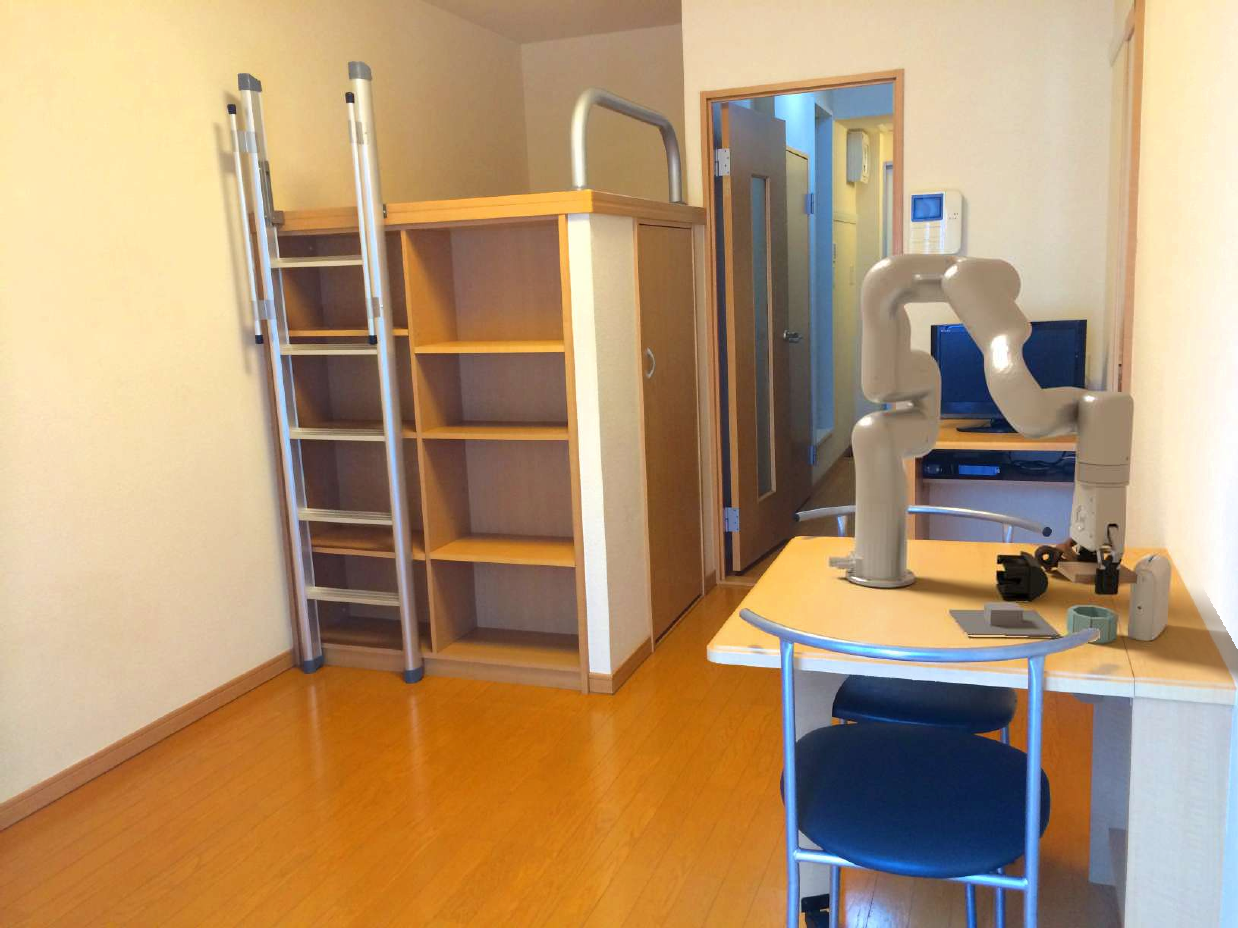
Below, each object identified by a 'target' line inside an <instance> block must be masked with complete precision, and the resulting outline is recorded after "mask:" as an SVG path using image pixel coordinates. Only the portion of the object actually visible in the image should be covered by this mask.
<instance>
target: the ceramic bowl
mask: <svg viewBox="0 0 1238 928" xmlns="http://www.w3.org/2000/svg"><path fill="white" fill-rule="evenodd" d="M1118 619H1119V614H1118V613H1117V612H1115V611H1114V610H1113V609H1111V608H1107V607H1102V606H1098V605H1093V604H1092V605H1091V604H1089V605H1085V604H1084V605H1082V604H1079V605H1078V604H1077V605H1073V606H1071V607H1069V608H1067V617H1066V631H1067V635H1069V634H1072V633H1075V632H1079V631H1081V630H1083V629H1088V628H1096V629H1099V631H1100V638H1098V639H1097V640H1096V641H1093V642H1091V643H1090V644H1093V645H1095V644H1096V645H1105V644H1111V643H1113V642H1115V640H1116V639H1115V638H1116V637H1117V634H1118V633H1117V632H1118V622H1119V621H1118Z"/></svg>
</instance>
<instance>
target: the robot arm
mask: <svg viewBox="0 0 1238 928" xmlns="http://www.w3.org/2000/svg"><path fill="white" fill-rule="evenodd" d="M1021 284H1022V283H1021V278H1020V275H1019V273H1018V271H1017V270H1016V268H1015V267H1014V266H1013V265H1012V264H1010V263H1009V262H1008V261H1006V260H1004V259H999V258H982V257H974V256H963V255H953V254H944V253H943V254H942V253H901V254H893V255H889V256H886V257H885V258H882V259H881V260H879V261H878V262H876V263H875V264H874V265H872V267H871V268H870V269H869V271H868V272H867V274H866V275H865V277H864V279H863V281H862V284H861V290H860V307H861V308H860V309H861V318H862V336H861V337H862V338H861V369H860V370H861V372H860V374H861V376H860V377H861V378H860V379H861V382H860V383H861V389H862V393H863V395H864V396H865V398H866V399H867V400H868V401H870V402H872V403H875V404H882V405H883V404H885V405H886V404H895V409H889V410H888V409H887V410H879V411H874V412H871V413H869V414H866V415H864V416H862V417H861V418H860V419H859V420H858V421H857V422H856V423H855V425H854V427H853V429H852V433H851V446H852V447H851V448H852V454H853V459H854V469H855V519H854V522H855V523H854V529H855V530H854V550H853V551H850V555H849V554H848V555H845V557H843V556H842V557H840V556H829V557H828V566H829V568H836V569H837V570H845V578H846V579H847V581H850V582H852V583H853V584H857V585H861V586H864V587H865V586H866V587H872V588H884V589H885V588H888V589H889V588H901V587H906V586H909V585H911V584H913V583H914V582H915V579H916V578H915V577H916V575H915V573H914V572H913V571H912V570H911V569H908V567H907V563H908V534H909V531H908V530H909V508H910V507H909V506H910V505H909V502H910V501H909V500H910V498H909V497H910V496H909V495H910V489H909V488H910V487H909V479H908V477H907V473H906V470H905V468H904V464H903V461H906V460H911V459H916V458H920V457H924V456H926V455H928V454H929V453H930V452H931V451H932V450H934V448H935V447H936V445H937V442H938V439H939V436H940V426H941V425H940V424H941V402H942V401H941V400H942V376H941V371H940V368H939V367H940V366H939V365H938V363H937V360H936V359H935V358H934V356H932V355H931V354H930V353H928V351H925V350H921V349H917V348H911V346H912V343H911V342H912V341H911V339H912V325H911V320H910V318H909V315H908V312H907V310H906V308H905V305H907V304H913V303H915V304H916V303H917V304H918V303H920V304H922V303H923V304H924V303H945V304H948V305H949V307H950V308H951V309H952V310H953V312H954V314H955V316H956V317H957V318H958V319H959V321H960V322H961V324H962V325H963V327H964V328H965V329H966V331H967V332H968V334H969V335H970V337H971V338H972V340H973V341H974V343H975V344H976V346H977V347H978V349H979V350H980V351H981V353H982V355H983V359H984V360H983V361H984V362H983V367H984V368H983V369H984V375H985V382H986V385H987V388H988V391H989V394H990V396H991V398H992V400H993V402H994V403H995V405H996V406H997V408H998V410H999V411H1000V412H1001V413H1002V415H1003V416H1004V418H1005V420H1006V421H1007V422H1008V423H1009V425H1010V427H1011V426H1012V428H1013V429H1015V431H1016V432H1018V433H1019V434H1020V435H1022V436H1023V437H1025V438H1028V439H1030V440H1041V439H1049V438H1053V437H1061V436H1067V435H1074V434H1076V442H1075V443H1076V445H1075V448H1076V449H1075V465H1074V468H1075V469H1074V482H1075V486H1074V491H1073V497H1072V506H1071V517H1070V524H1069V525H1070V526H1069V536H1070V538H1072V539H1073V540H1074V541H1075V542H1077V545H1075V553H1076V562H1098V565H1099V568H1096V577H1095V583H1094V594H1096V596H1097V595H1098V596H1115V595H1118V594H1119V584H1120V583H1119V570H1120V568H1121V563H1122V561H1123V556H1124V554H1125V542H1126V541H1125V540H1126V529H1127V526H1126V525H1127V498H1126V496H1127V494H1126V487H1127V486H1129V485H1130V479H1131V478H1130V476H1131V474H1130V473H1131V460H1132V459H1131V458H1132V445H1133V430H1134V429H1133V427H1134V426H1133V425H1134V412H1135V411H1134V410H1135V401H1134V399H1133V397H1132V396H1131V395H1130V394H1129V393H1126V392H1123V391H1110V390H1109V391H1107V390H1100V391H1099V390H1098V391H1093V390H1089V389H1084V388H1080V387H1074V386H1059V387H1048V388H1042V387H1041V386H1040V385H1039V384H1038V382H1037V380H1035V378H1034V377H1033V375H1032V374H1031V372H1030V370H1029V369H1028V367H1027V364H1026V362H1025V360H1024V358H1023V357H1024V356H1023V346H1024V344H1025V343H1026V342H1027V341H1028V340H1029V338H1030V337H1031V334H1032V333H1033V332H1032V331H1033V327H1032V324H1031V322H1030V320H1029V319H1028V318H1027V317H1026V316H1025V314H1024V313H1023V311H1022V310H1021V308H1020V307H1019V306H1018V304H1017V303H1016V302H1015V301H1016V300H1017V299H1018V297H1019V294H1020V292H1021V287H1022V285H1021ZM1103 546H1106V547H1103ZM1107 546H1108V547H1107ZM1096 551H1097V554H1095V553H1096ZM1105 555H1106V557H1105Z"/></svg>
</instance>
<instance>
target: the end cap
mask: <svg viewBox="0 0 1238 928" xmlns="http://www.w3.org/2000/svg"><path fill="white" fill-rule="evenodd" d="M1019 553H1020V554H997V556H996V565H1002V567H1003V569H1004V570H997V569H996V570H995V572H996V573H995V579H996V582H997V583H996V585H995V586H996V587H995V588H996V590H997V591H998V593H999V596H1001V599H1002V600H1003V601H1004V602H1011V601H1028V602H1027V603H1032V602H1034V601H1036V600H1037V599H1038V598H1040V597H1042V596H1043V595H1044V594H1045V593H1046V592H1047V590H1048V587H1049V583H1050V582H1049V578H1048V577H1049V576H1048V575H1047V573H1045V569H1044V568H1043V567H1042V566H1040V565H1039V563H1038V562H1037V560H1036V559H1035V557H1034V555H1032V554H1031V553H1029V552H1026V551H1024V550H1023V551H1022V550H1020V552H1019Z"/></svg>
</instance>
